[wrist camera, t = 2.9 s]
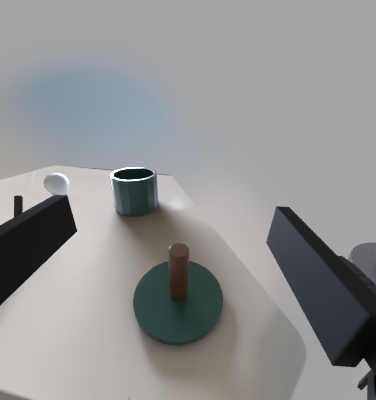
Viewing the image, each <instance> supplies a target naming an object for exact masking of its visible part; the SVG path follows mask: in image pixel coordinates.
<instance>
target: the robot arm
mask: <svg viewBox="0 0 376 400" xmlns="http://www.w3.org/2000/svg"><path fill="white" fill-rule="evenodd" d="M76 232H77V229H76V225H75V222H74V218H73V214H72V211H71V207H70V204H69V200H68V197H67V195H54V196H52V197H50V198H48V199H46V200H45V201H43V202H41V203H39V204H38V205H36V206H34V207H32V208H30V209H29V210H27V211H25V212H23V213H21V214H20V215H18V216H16V217H14V218H13V219H11V220H9V221H7V222H5V223H4V224H2V225H0V305H1V304H2V303H3V302H4V301H5V300H6V299H7V298H8V297H9V296H10V295H11V294H12V293H13V292H14V291H16V290H17V289H18V288H19V287H20V286H21V285H22V284H23V283H24V282H25V281H26V280H27V279H28V278H29V277H30V276H31V275H32V274H33V273H34V272H35V271H36V270H37V269H38V268H39V267H40V266H41V265H42V264H43V263H45V262H46V261H47V260H48V259H49V258H50V257H51V256H52V255H53V254H54V253H55V252H56V251H57V250H58V249H59V248H60V247H61V246H62V245H63V244H64V243H65V242H66V241H67V240H68V239H69V238H70V237H71V236H73V235H74V234H75V233H76ZM266 243H267V245H268V246H269V248H270V250H271V252H272V254H273V256H274V257H275V259H276V261H277V263H278V265H279V267H280V269H281V270H282V272H283V274H284V276H285V278H286V280H287V282H288V284H289V285H290V287H291V289H292V291H293V293H294V295H295V296H296V298H297V300H298V302H299V304H300V306H301V308H302V310H303V311H304V313H305V315H306V317H307V319H308V321H309V323H310V324H311V326H312V328H313V330H314V332H315V334H316V336H317V338H318V339H319V341H320V343H321V345H322V347H323V349H324V350H325V352H326V354H327V356H328V358H329V360H330V362H331V364H332V365H333V366H345V367H356V366H357V365H358V364H359V362H360V361H361V360H362V359H363V358H364V359H365V360H366V362H367V363H368V365H369V366H370V368H371V370H370V371H369V372H368V373H367V374H366V375H365V377H363V378H362V379H361V381H360V382H359V384H358V388H359V389H361V390H362V389H363V388H364V387H365V386H366V385H368V388H367V391H368V392H367V395H368V396H367V400H376V285H375V283H374V282H373V281H372V280H371V279H370V278H369V277H366V275H365V274H364V273H363V272H362V271H361V270H360V269H359V268H358V267H357V266H356V265H355V264H353V263H352V262H350V261H349V260H347V259H345V258H344V257H342V256H337V255H336V254H335V253H334V252H333V251H332V250H331V249H330V248H329V247H328V246H327V245H326V244H325V243H324V242H323V241H322V240H321V239H320V238H319V237H318V236H317V235H316V234H315V233H314V232H313V231H312V230H311V229H310V228H309V227H308V226H307V225H306V224H305V223H304V222H303V221H302V220H301V219H300V218H299V217H298V216H297V215H296V214H295V213H294V212H293V211H292V210H291V209H290V208H289V207H276V210H275V214H274V217H273V220H272V224H271V228H270V231H269V235H268V238H267V242H266Z"/></svg>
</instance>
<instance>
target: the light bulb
mask: <svg viewBox="0 0 376 400" xmlns="http://www.w3.org/2000/svg"><path fill="white" fill-rule="evenodd" d="M44 187H45V188H46V190H48V191H49V192H50V193H52V194H53V196H54V195H67V189H68V187H69V181H68V179H67V178H66V177H65V176H64V175H62V174H59V173H53V174H50V175H48V176H47V177H46V178H45V179H44Z"/></svg>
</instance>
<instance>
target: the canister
mask: <svg viewBox="0 0 376 400" xmlns="http://www.w3.org/2000/svg"><path fill="white" fill-rule="evenodd" d="M110 180H111V186H112V192H113V198H114V203H115V208H116V211H117V212H118V213H119V214H122V215H125V216H141V215H146V214H149V213H151V212H153V211H154V210H155V209H156V208H157V207H158V194H157V175H156V171H154V170H153V169H149V168H143V167H132V168H123V169H120V170H116V171H114V172H112V173H111V174H110Z"/></svg>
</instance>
